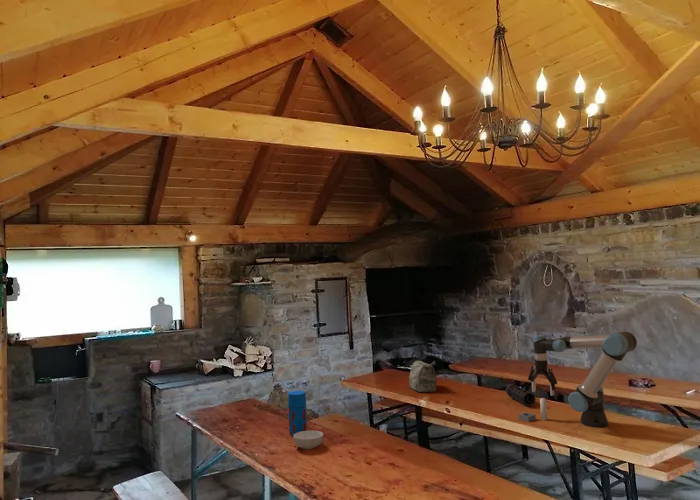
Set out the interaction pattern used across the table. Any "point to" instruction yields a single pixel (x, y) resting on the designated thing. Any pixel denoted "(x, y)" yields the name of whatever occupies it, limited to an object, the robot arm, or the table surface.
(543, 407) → the plug
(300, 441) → the cereal bowl
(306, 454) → the table surface
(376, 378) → the table surface
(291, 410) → the thermos
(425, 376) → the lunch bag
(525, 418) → the socket block
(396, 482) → the table surface
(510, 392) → the muzzle brake
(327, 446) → the table surface
